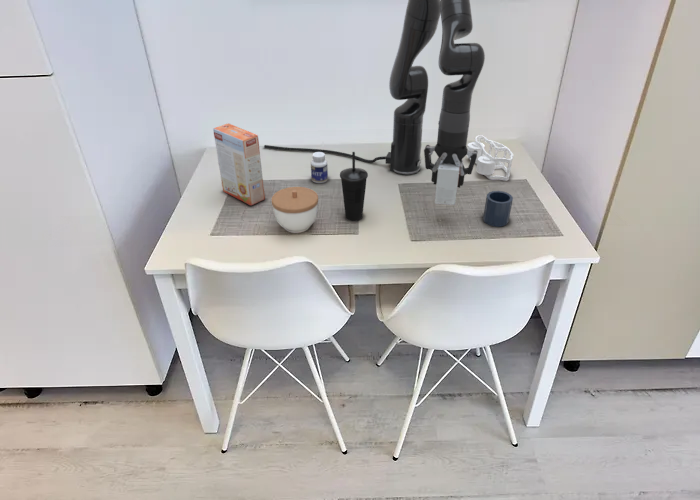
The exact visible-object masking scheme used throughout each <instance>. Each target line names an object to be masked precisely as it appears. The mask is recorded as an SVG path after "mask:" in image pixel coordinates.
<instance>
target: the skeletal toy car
mask: <svg viewBox="0 0 700 500" xmlns="http://www.w3.org/2000/svg"><path fill="white" fill-rule="evenodd" d="M481 140H482V141H484V143H485V144H488V145H489V148H488V152H487V151H486V145H485V144H484V143H483V142H481ZM466 146H467V149H468V150H469V151H475V150H476V151H477V152H478V154H477V158H476V161H475V165H476V169H475V171H476V173H477V174H479V175H482V176H483V175H484V176H485V178H487V179H489V180H491V181H494V180H496V181H497V180H498V181H503V182H507V181H509V180H510V176H511V170H512V164H513V159H514V153H513V151H511V149H510V148H509V147H508V146H506V145H504V144H503V143H500V142H498V141H495V140H492V139H488V137H486V136H484V135H482V134H479V135H476V136H475V137H474V141H471V142H467V145H466ZM492 149H493V150H494V156H492V151H493V150H492ZM499 152H503V157H498V155H499ZM507 154H508V155H509V158H507ZM465 157H466V158H467V159H468V155H466V156H465ZM505 164H507V166H506V165H505ZM501 169H502V170H503V171H504V172H505V173H506V174H505V176H503V175H494V173H495V171H496V170H501Z"/></svg>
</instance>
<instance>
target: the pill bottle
mask: <svg viewBox="0 0 700 500" xmlns="http://www.w3.org/2000/svg"><path fill="white" fill-rule="evenodd" d="M328 169H329V168H328V160H327V159H326V153H323V152H313V153H312V159H311V161H310V175H311V176H310V177H311V179H310V180H311V182H314V183H315V184H324V183H326V182H328V179H329V171H328Z"/></svg>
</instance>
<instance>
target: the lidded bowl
mask: <svg viewBox="0 0 700 500" xmlns="http://www.w3.org/2000/svg"><path fill="white" fill-rule="evenodd" d="M270 200H271V205H272V212H273V215H274V218H275V220H276V222H277V223H278V225H279V226H280V227H281V228H282V229H284V230H285V231H286V232H289V233H291V234H300V233H304V232H306V231H308V230H309V229H310V227H311V226H312V225H313V224H314V223H315V222H316V219H317V217H318V213H319V212H318V211H319V195H318V193H317V192H316V191H314V190H313V189H311V188H309V187H304V186H290V187H285V188H281V189H279V190H278V191H276V192H275V193H274V194H273V195H272V196H271V199H270Z"/></svg>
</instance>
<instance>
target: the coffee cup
mask: <svg viewBox="0 0 700 500" xmlns="http://www.w3.org/2000/svg"><path fill="white" fill-rule="evenodd" d="M513 201H514V197H513V196H512V194H510V193H509V192H506V191H503V190H492V191H489V192H487V193H486V197H485V203H484V204H485V205H484V209H483V217H482V220H483V222H484V223H485V224H487V225H488V226H491V227H496V228H497V227H498V228H500V227H505V226H507V225H508V224H509V221H510V217H511V211H512V206H513Z"/></svg>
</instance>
